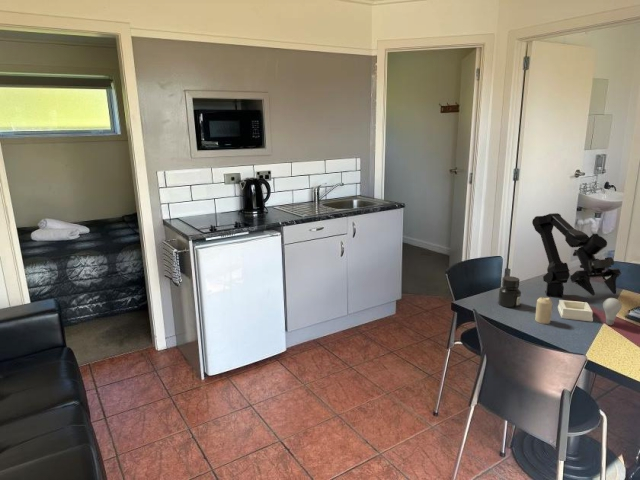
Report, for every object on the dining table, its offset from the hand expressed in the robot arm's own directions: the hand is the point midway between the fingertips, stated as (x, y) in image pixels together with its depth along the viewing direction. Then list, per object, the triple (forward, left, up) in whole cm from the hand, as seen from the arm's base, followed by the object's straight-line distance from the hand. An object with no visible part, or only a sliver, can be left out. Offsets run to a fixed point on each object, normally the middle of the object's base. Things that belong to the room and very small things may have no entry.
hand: (604, 294), depth 175 cm
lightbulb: (+2, -4, -11) cm, 12 cm away
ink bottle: (-34, +7, -11) cm, 36 cm away
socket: (-9, +3, -11) cm, 15 cm away
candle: (-22, -8, -11) cm, 26 cm away
